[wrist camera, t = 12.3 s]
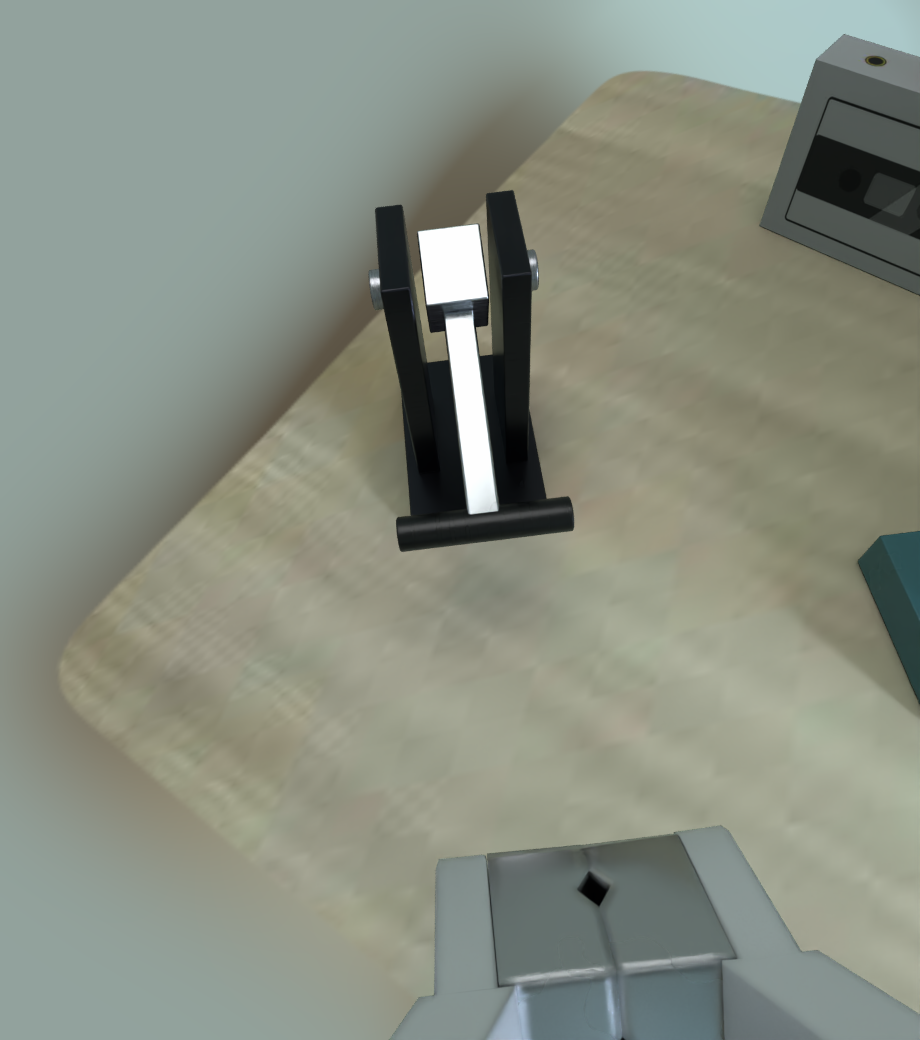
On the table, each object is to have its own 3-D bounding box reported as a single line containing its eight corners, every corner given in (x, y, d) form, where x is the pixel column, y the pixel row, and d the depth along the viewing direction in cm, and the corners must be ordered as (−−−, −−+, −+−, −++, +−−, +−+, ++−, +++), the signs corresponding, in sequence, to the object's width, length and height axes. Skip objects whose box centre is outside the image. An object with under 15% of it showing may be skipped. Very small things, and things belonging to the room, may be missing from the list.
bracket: (546, 516, 32) (560, 321, 22) (414, 532, 32) (367, 345, 22) (518, 367, 37) (518, 149, 27) (402, 381, 37) (358, 169, 27)
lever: (569, 534, 26) (578, 526, 23) (404, 555, 26) (396, 548, 23) (528, 250, 27) (533, 215, 25) (372, 270, 27) (362, 237, 25)
